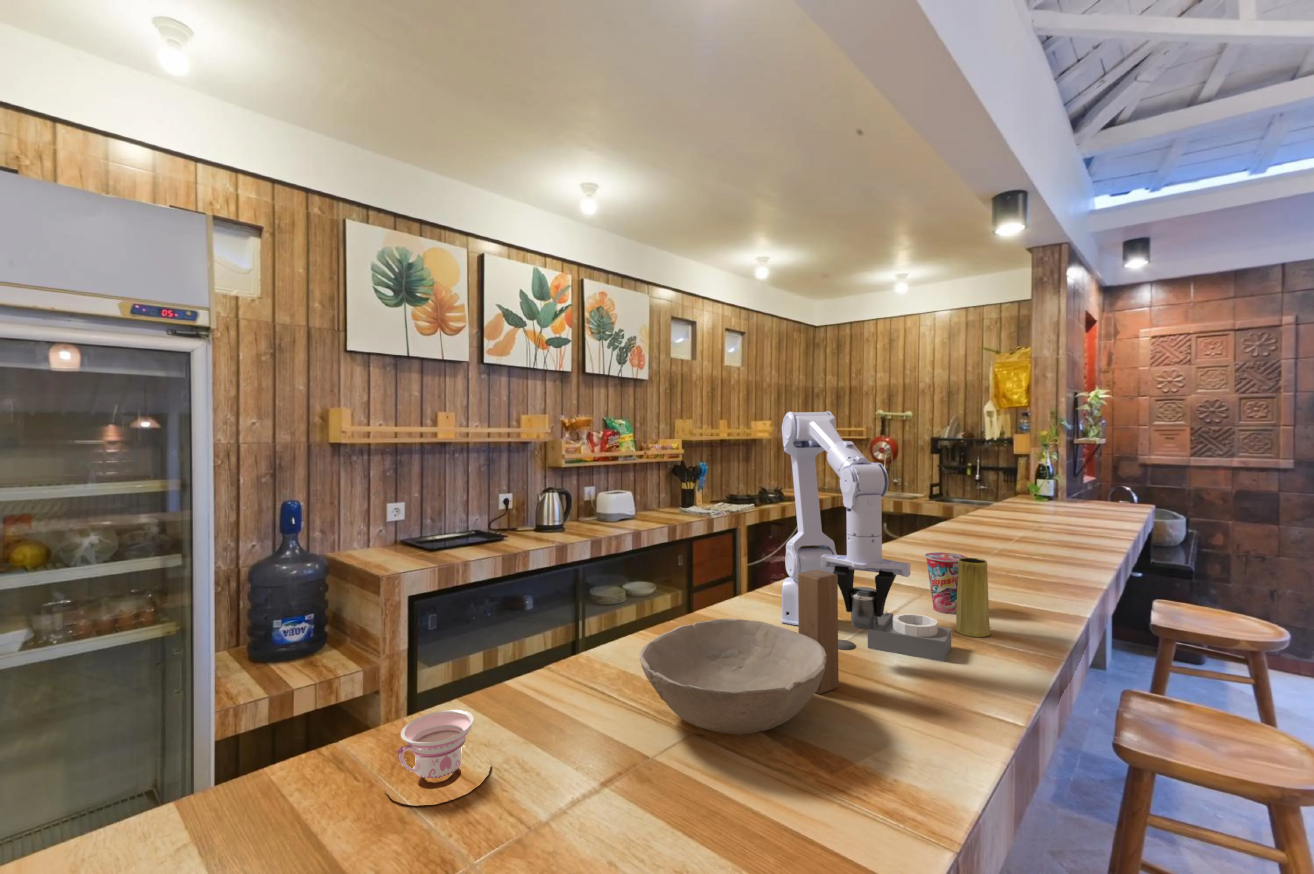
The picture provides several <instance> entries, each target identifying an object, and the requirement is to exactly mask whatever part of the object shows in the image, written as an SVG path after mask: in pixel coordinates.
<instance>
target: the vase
mask: <svg viewBox="0 0 1314 874" xmlns="http://www.w3.org/2000/svg"><path fill="white" fill-rule="evenodd" d="M988 577H989V576H988V561H987V560H985V559H984V558H979V557H978V558H977V557H969V558H959V559H958V586H957V612H956V613H955V614H956V616H955V617H956V619H955V621H956V622H955V623H956V624H955V631H956V632H957V633H958V634H961V635H964V636H965V637H974V638H986V637H989V636H990V635H991V628H990V627H991V626H990V608H989V605H990V604H989V583H988V582H989V578H988Z"/></svg>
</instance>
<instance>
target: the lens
mask: <svg viewBox="0 0 1314 874" xmlns="http://www.w3.org/2000/svg"><path fill="white" fill-rule="evenodd" d="M876 602H877V595H876V588H873V587H868V586H866V587H865V586H856V587H854V586H853V588H852V589H851V612H850V619H851V620H850V624H851V626H852V627H854V628H856V629H859V630H868V629H876V628H878V617H877V616H876Z"/></svg>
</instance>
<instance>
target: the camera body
mask: <svg viewBox="0 0 1314 874" xmlns="http://www.w3.org/2000/svg"><path fill="white" fill-rule="evenodd" d="M867 648H868V649H870V650H871V649H872V650H878V651H884V652H889V653H895V654H898V655H899V654H900V655H904V656H911V657H916V658H923V659H927V660H931V661H932V660H933V661H938V662H942V663H943V662H944V663H946V661H947V659H948V656H949V654H950V652H951V649H952V628H951V627H945V626H944V627H943V626H939V621H938V620H937V619H935V618H933V617H931V616H927V615H924V614H919V613H900V614H895V615H894V614H893V613H892V612H887V611H886V610H884V613H883V615H882V616H881V617H878V628H876V629H867Z"/></svg>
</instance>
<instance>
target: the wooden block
mask: <svg viewBox="0 0 1314 874" xmlns="http://www.w3.org/2000/svg"><path fill="white" fill-rule="evenodd" d="M838 589H839V586H838V576H837V575H836V574H834V573H830V572H825V571H821V570H817V569H816V570H811V571H806V572H801V573H799V574H798V625H797V626H798V633H800V634H802V635H805V636H807V637H810V638H812V639H814V640H816V641H817V642H818V643H820V645H821V646H822V647H823V648H824V650H825V653H826V655H827V659H826V667H825V671H824V674H823V677H822V679H821V682H820V684H819V687H818V689H817V691H816V692H815V693H816V694H818V695H821V694H822V695H823V694H825V693H828V692H831V691H833V690H836V689H838V688H839V685H840V684H839V683H840V682H839V678H840V677H839V649H838V640H839V598H838V597H839V595H838V594H839V593H838V592H839V590H838Z"/></svg>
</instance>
